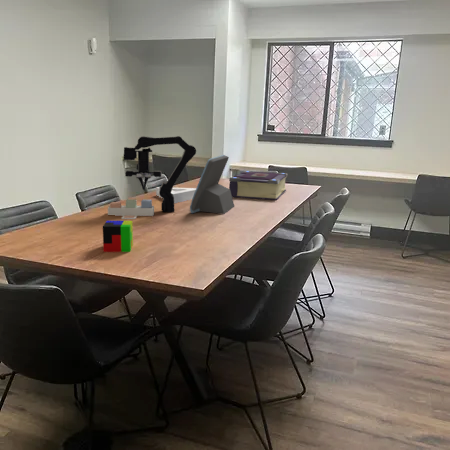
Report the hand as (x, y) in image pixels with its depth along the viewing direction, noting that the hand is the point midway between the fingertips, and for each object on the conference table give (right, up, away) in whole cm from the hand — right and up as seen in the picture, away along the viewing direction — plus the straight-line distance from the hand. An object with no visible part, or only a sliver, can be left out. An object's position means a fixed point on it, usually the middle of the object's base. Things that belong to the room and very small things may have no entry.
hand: (144, 189), depth 252 cm
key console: (-6, -13, -6) cm, 16 cm away
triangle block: (+10, -3, +47) cm, 48 cm away
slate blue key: (+2, -11, -6) cm, 13 cm away
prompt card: (-5, -15, -14) cm, 21 cm away
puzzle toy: (+2, -28, -68) cm, 74 cm away
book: (+67, +2, +72) cm, 98 cm away
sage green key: (-6, -11, -6) cm, 14 cm away
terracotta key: (-14, -13, -6) cm, 20 cm away
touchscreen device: (+37, -10, +14) cm, 41 cm away
